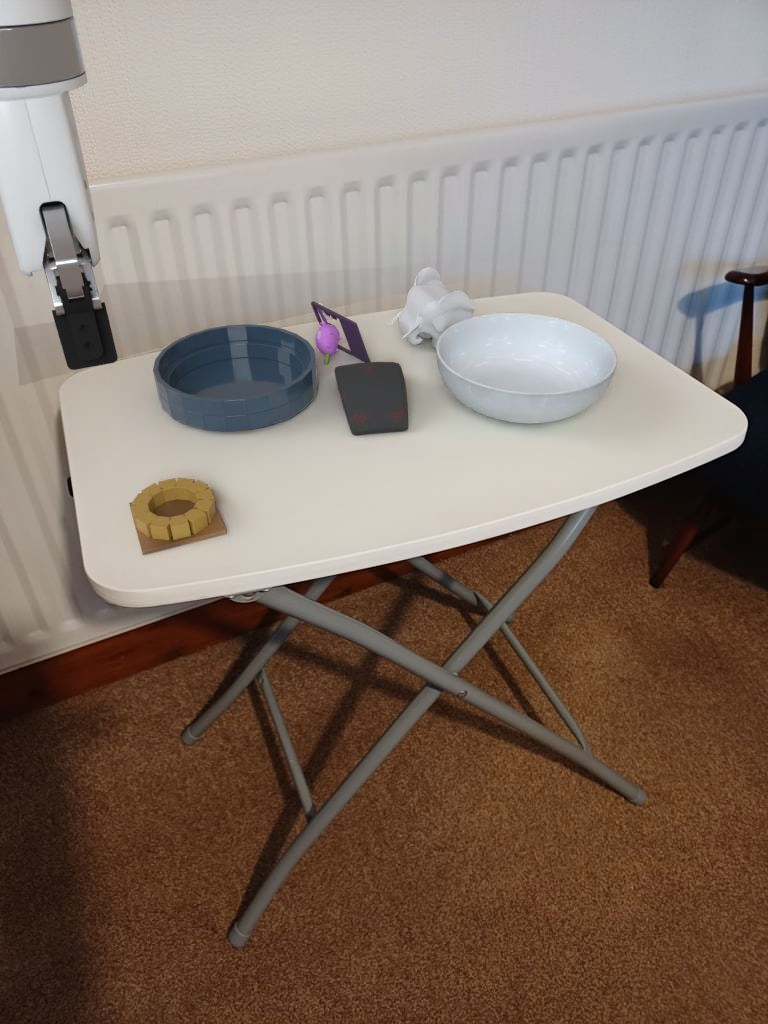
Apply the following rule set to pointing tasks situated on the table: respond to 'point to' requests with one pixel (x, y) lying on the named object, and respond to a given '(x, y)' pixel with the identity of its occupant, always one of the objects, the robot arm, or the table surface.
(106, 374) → the table surface
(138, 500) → the ring
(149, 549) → the coaster
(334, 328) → the purple piece
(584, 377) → the serving bowl
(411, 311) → the elephant figurine
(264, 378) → the bowl
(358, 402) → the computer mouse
